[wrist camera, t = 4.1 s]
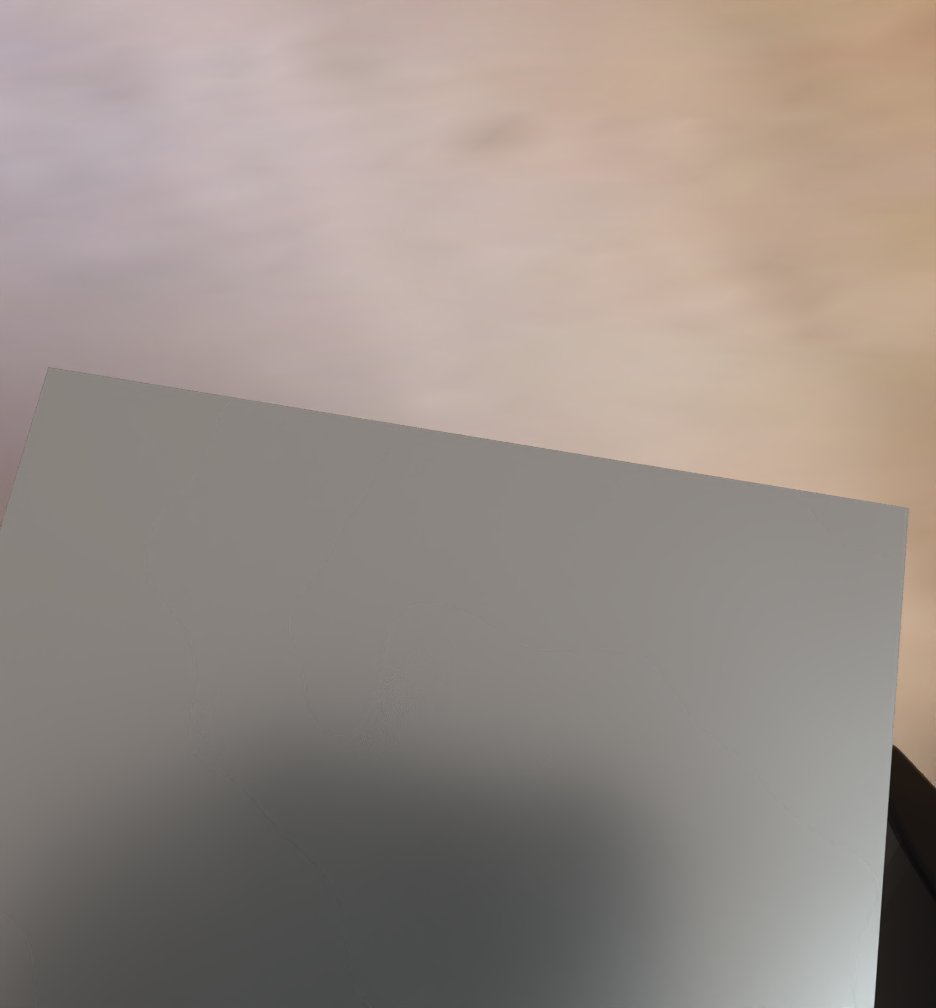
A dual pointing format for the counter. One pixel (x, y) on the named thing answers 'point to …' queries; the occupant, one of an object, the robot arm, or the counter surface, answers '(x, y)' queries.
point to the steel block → (430, 719)
